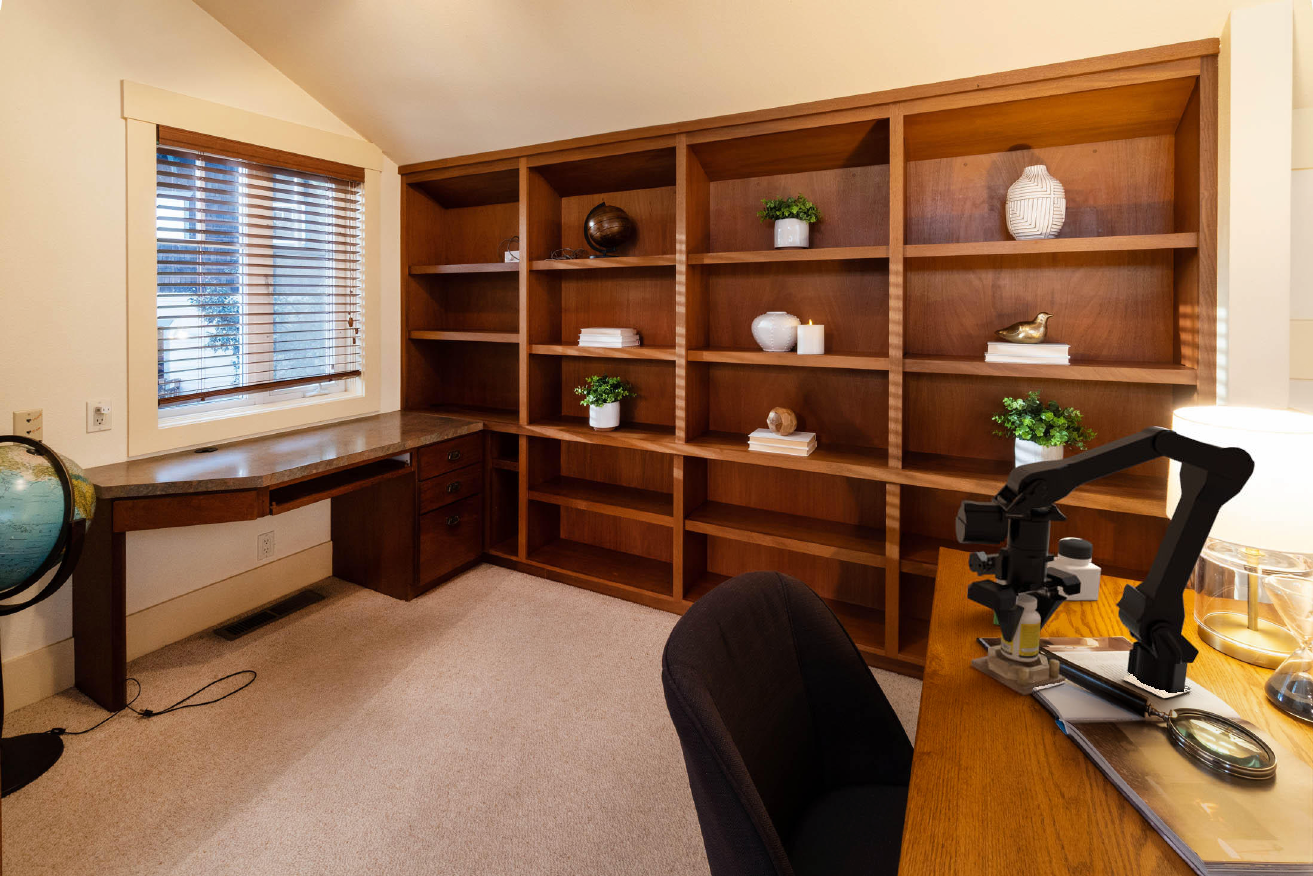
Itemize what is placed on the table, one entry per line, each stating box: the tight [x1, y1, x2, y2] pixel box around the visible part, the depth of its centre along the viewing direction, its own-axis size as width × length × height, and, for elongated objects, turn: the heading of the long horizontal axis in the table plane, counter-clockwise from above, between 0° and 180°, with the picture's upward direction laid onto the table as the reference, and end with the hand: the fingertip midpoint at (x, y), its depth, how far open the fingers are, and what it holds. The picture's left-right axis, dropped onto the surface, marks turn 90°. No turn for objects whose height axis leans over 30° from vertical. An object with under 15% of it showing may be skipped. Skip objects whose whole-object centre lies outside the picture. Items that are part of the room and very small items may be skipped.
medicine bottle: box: [1047, 537, 1102, 601], centre depth 139 cm, size 7×7×12 cm
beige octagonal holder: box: [970, 644, 1066, 696], centre depth 107 cm, size 10×9×3 cm
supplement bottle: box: [1000, 594, 1041, 662], centre depth 106 cm, size 5×5×10 cm
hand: (1020, 638), depth 106 cm, fingers closed on supplement bottle, 5 cm apart
